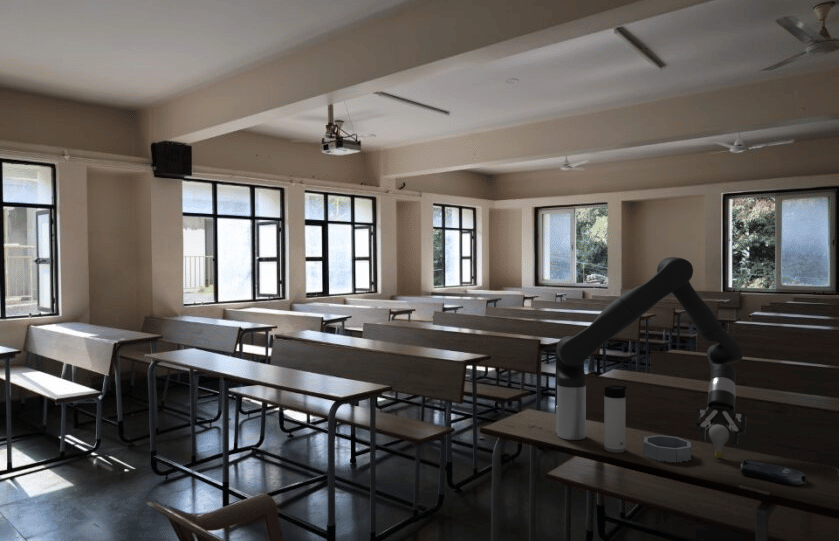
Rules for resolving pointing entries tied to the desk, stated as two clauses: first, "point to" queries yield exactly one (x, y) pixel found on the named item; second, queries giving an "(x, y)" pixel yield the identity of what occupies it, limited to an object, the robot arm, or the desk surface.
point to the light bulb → (718, 438)
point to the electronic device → (772, 472)
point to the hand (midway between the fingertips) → (718, 442)
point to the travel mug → (614, 418)
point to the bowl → (667, 448)
